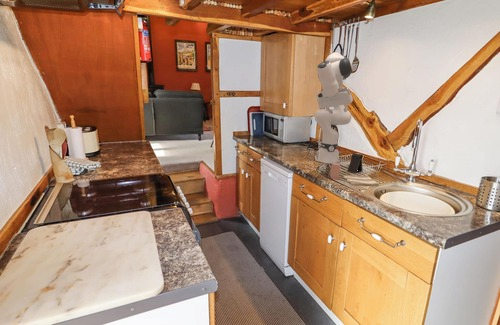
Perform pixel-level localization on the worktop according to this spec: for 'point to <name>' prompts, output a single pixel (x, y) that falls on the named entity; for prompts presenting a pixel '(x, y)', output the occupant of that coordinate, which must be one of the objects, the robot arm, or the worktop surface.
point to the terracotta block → (335, 171)
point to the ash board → (360, 180)
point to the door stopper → (355, 163)
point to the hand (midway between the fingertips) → (338, 112)
